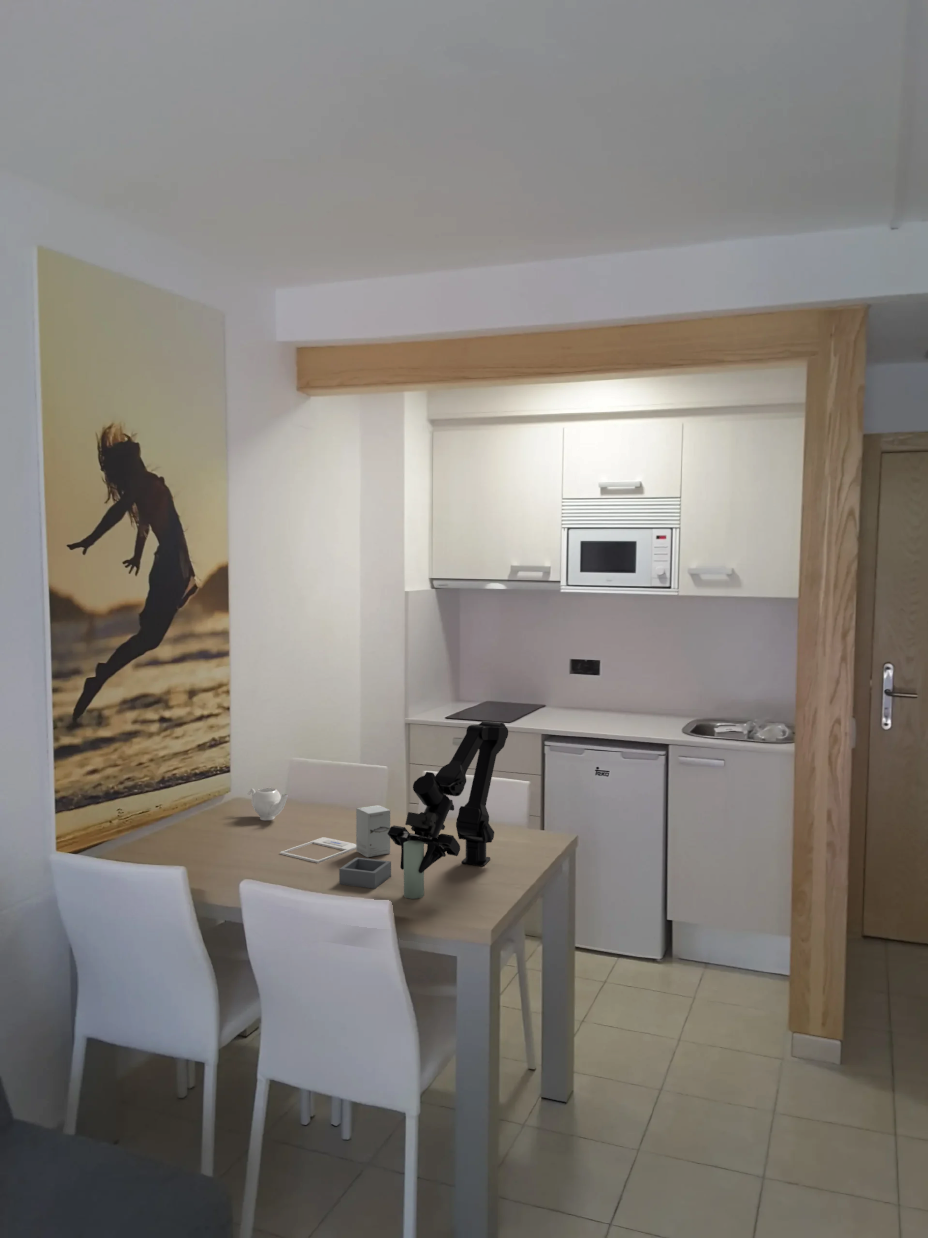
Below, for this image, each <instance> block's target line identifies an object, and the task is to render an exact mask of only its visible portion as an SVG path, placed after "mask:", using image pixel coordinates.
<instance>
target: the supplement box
mask: <svg viewBox="0 0 928 1238" xmlns="http://www.w3.org/2000/svg"><path fill="white" fill-rule="evenodd" d="M355 816H356V818H355V819H356V820H355V821H356V822H355V828H356V829H355V830H356V832H355V837H356V840H355V841H356V842H355V844H356V849H355V851H356V852H357V853H359V854H361V855H362V856H364V857H365V858H367V859H370V857H377V856H383V855H388V854H391V838H390V836H389V835H388V834H387V833H388V831H389V829H390V827H391V809H389V808H386V807H384V806H381V805H380V804H377V805H371V806H364V807H358V808H355Z"/></svg>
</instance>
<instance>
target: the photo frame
mask: <svg viewBox="0 0 928 1238" xmlns="http://www.w3.org/2000/svg"><path fill="white" fill-rule="evenodd" d="M311 844H313V845H319V846H323V847H327V848H331V849H336V850H341V851H339V852H336V853H333V854H332V855H328V856H326V857H323V858H320V859H314V858H310V857H306V856H303V855H298V854H294V853H289V852H291V851H295V850H297V849H300V848H301V849H302V848H304V847H306V846H309V845H311ZM354 850H356V843H353V842H348V841H343V840H339V839H335V838H330V837H325V836H324V837H323V836H322V837H319V838H316V839H313V840H311V841H309V842H305V843H301V844H299V845H297V846H293V847H290V848H288V849H286V850H282V851H280V852H279V854H280V855H283V856H287V857H291V858H294V859H300V860H304V861H307V862H312V863H316V864H320V863H323V862H325V861H328V860H330V859H333V858H335V857H338V856H340V855H343V854H346V853H349V852H352V851H354Z"/></svg>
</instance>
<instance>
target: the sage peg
mask: <svg viewBox="0 0 928 1238" xmlns="http://www.w3.org/2000/svg"><path fill="white" fill-rule="evenodd" d="M424 856H425V844H424V843H423V842H422V841H407V842H404V869H403V897H405V898H406V899H414V900H416V899H420V898H423V897H424V896H425V871H423V872H422V873H419V868H420V865H421V863H422V860H423V858H424Z"/></svg>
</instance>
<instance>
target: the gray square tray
mask: <svg viewBox="0 0 928 1238" xmlns="http://www.w3.org/2000/svg"><path fill="white" fill-rule="evenodd" d="M338 869H339V871H338V873H339V875H338V878H339V879H338V880H339V881H338V882H339V883H338V884H339V885H341V886H342V885H343V886H350V887H351V886H352V887H359V888H366V889H374V890H376V889H377V888H378V887H380V886H381V885H382V884H383V883H385V881H387V880H388V879H390V878H391V877H392V861H390V860H384V859H383V860H382V859H373V858H367V857H357V856H356V857H355V858H354V859H352V860H350V861H349V862H347V863H346V864H344V865H343V866H342V867H340V868H338Z"/></svg>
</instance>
